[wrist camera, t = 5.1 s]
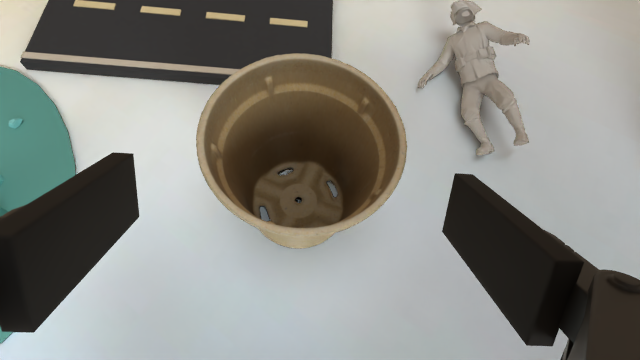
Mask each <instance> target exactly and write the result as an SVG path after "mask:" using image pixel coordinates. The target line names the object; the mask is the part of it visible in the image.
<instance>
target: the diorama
mask: <svg viewBox="0 0 640 360" xmlns="http://www.w3.org/2000/svg"><path fill="white" fill-rule="evenodd" d="M73 176H75V162H74V157H73V153H72V148H71V144H70V139H69V135H68V131H67V129H66V127H65V125H64V123H63V121H62V118H61V116H60V114H59V112H58V110H57V108H56V106H55V104H54V103H53V102H52V101H51V100H50V98H49V97H48V96H47V95H46V94H45V93H44V91H43V90H42V89H41V88H40V87H39V86H38V84H36V83H34V82H33V81H31V80H30V79H28V78H27V77H25V76H24V75H22V74H20V73H19V72H17V71H15V70H11V69H7V68H4V67H0V216H2V215H4V214H6V213H7V212H9V211H11V210H12V209H15V208H18V207H21V206H24V205H27V204H28V203H30V202H32V201H33V200H35V199H37V198H38V197H40V196H42V195H43V194H45V193H47V192H48V191H50V190H52V189H53V188H55V187H57V186H58V185H60V184H62V183H63V182H65V181H67V180H68V179H70V178H72V177H73ZM12 333H13V332H2V331H1V327H0V343H2V342H3V341H4V340H5V339H6V338H7V337H8V336H9V335H11V334H12Z"/></svg>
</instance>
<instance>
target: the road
mask: <svg viewBox="0 0 640 360" xmlns="http://www.w3.org/2000/svg"><path fill="white" fill-rule="evenodd" d="M332 4H333V0H49V1H48V3H47V5H46V7H45V9H44V12H43V14H42V16H41V18H40V20H39V22H38V24H37V27H36V29H35V31H34V33H33V35H32V37H31V39H30V42H29V44H28V46H27V48H26V50H25V52H23V53H22V55H21V58H22V59H21V61H20V62H21V63H22V64H23V66H24V67H25V68H26V69H29V70H42V71H55V72H67V73H80V74H93V75H105V76H118V77H131V78H144V79H156V80H169V81H182V82H194V83H207V84H220V85H221V84H222V83H223V82H224V81H225V80H226V79H228V78H229V76H231V75H233V74H234V73H235V72H237V71H238V70H240V69H242V68H244V67H246V66H248V65H249V64H252V63H254V62H256V61H260V60H261V59H264V58H267V57H272V56H275V55H284V54H293V53H295V54H296V53H299V54H303V53H305V54H314V55H320V56H324V57H328V58H331V53H332Z"/></svg>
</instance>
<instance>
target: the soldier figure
mask: <svg viewBox="0 0 640 360" xmlns="http://www.w3.org/2000/svg"><path fill="white" fill-rule="evenodd" d="M451 9H452V11H451V15H450V16H451V19H452V21H453V25H455V24H458V25H459V26H460V27H458V29H457V32H456V33H455V34H453V35H452V36H450V37H449V38H448V39H447V42H446V44H445V47H444V49H443V51H442V54H441V56H440V58H439V59H438V61H437V62H436V63H435V64H434V65H433V67H432V68H431V69H430V70H428V71H427V72H426V73H425V75H424V76H423V77H422V78H421V79H420V81H419V83H418V88H419V87H421V83H422V88H424V84H425V85H426V84H427V80H428V79H432V78H433V77H435V76H436V75H438V74H439V73H441V72H442V71H443V70H444V69H445V68H446V67H447V66H448V64H449V63H450V62H451V60H452V59H453V58H454V55H455V56H456V59H457V60H455V69H456V72H459V75H460V77H461V86H462V88H463V94H462V99H461V104H462V105H461V116H462V117H463V119H464V120H465V122H464V125H467V126H468V127H469V128H470V129H471V130H472V132H473V133H474V134H475V136H476V137H477V139H478V140H479V141H480V142H481V146H480V148H478V149H476V155H483V154H489V153H492V152H494V147H493V146H492V143H490V140H489V138H488V137H487V135H486V132H485V130H484V127H483V124H482V122H481V120H480V115H479V113H480V112H479V109H480V106H481V101H482V99H483V97H484V95H485V94H486V96H487V97H489V98H490V99H491V100H492V101H493V102H494V103H495V104H496V106H497V107H498V108H499V109H502V113H503V114H505V115H506V118H507V119H508V121H509V122H510V124H511V125H512V126H513V127H514V129H515V132H516V138H515V140H514V142H513V143H514V146H518V145H524V144H527V143H529V141H528V137H527V134H526V133H525V129H524V124H523V122H522V118H521V114H520V111H519V108H518V105H517V100H516V99H515V98H514V94H513V92H512V91H511V90H510V89H509V88H508V87H507V86H506V85H505V84H504V83H502V82H501V81H499V80H498V76H499V75H498V71H497V70H496V68H495V64H494V61H493V59H495V57H496V54H495V51H494V49H493V47H491V46H489V40H490V41H492V42H496V43H499V44H501V45H513V44H514V46H516V44H519V43H521V42H523V43H525V44H528V45H529V38H528V36H526V35H524V34H520V33H513V32H510V31H509V32H507V31H504V30H502V29H500V28H497V27H495V26H494V25H492V24H490V23H488V22H487V21H485V22H481V23H478V24H475V23H474V22H473V21H474V19H475V14H476V13H477V12H479V11H481V10H482V9H481V8H480V7H479V6H478V5H477V4H475V3H474V2H471V1H466V0H459V1H456V2H454V3H453V4H452V6H451ZM525 41H526V42H525Z"/></svg>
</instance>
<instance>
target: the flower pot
mask: <svg viewBox="0 0 640 360" xmlns="http://www.w3.org/2000/svg"><path fill="white" fill-rule="evenodd" d="M196 142H197V143H196V147H197V156H198V160H199V165H200V168H201V171H202V174H203V176H204V178H205V180H206V182H207V184H208V186H209V187H210V189H211V190H212V192H213V193H214V194H215V196H216V197H217V198H218V200H219V201H220V202H221V203H222V204H223V205H224V206H225V207H226V208H227V209H228V210H229V211H231V212H232V213H233V214H234V215H236V216H237V217H239V218H240V219H242V220H243V221H245V222H247V223H249V224H250V225H253V226H255V227H257V228H258V229H259V230H260V231H261V232H262V234H263V235H264V236H266V237H267V238H268V239H270V240H271V241H273V242H275V243H277V244H279V245H282V246H285V247H289V248H308V247H312V246H315V245H318V244H320V243H322V242H324V241H326V240H327V239H328V238H330V237H331V236H332V235H333V234H334V233H336V232H340V231H342V230H345V229H348V228H350V227H352V226H354V225H356V224H358V223H359V222H361V221H363V220H365V219H366V218H368V217H369V216H370V215H372V214H373V213H374V212H376V211H377V210H378V209H379V208H380V207H381V206H382V205H383V204H384V203H385V202H386V201H387V199H388V198H389V197H390V195H391V194H392V192H393V191H394V189H395V188H396V186H397V184H398V182H399V180H400V178H401V175H402V173H403V169H404V165H405V161H406V151H407V141H406V134H405V129H404V125H403V123H402V119H401V117H400V115H399V113H398V111H397V108H396V106H395V105H394V104H393V102H392V101H391V100H390V98H389V97H388V95H387V94H386V93H385V92H384V91H383V90H382V88H381V87H380V86H379V85H378V84H377V83H375V82H374V81H373V80H372V79H371V78H370V77H368V76H367V75H365V74H364V73H362V72H361V71H359V70H357V69H356V68H354V67H352V66H350V65H348V64H345V63H343V62H341V61H338V60H335V59H331V58H328V57H324V56H320V55H314V54H305V53H303V54H299V53H296V54H295V53H293V54H284V55H275V56H272V57H267V58H264V59H261V60H260V61H256V62H254V63H252V64H249V65H248V66H246V67H244V68H242V69H240V70H238V71H237V72H235V73H234V74H233V75H231V76H229V78H228V79H226V80H225V81H224V82H223V83H222V84H221V85H220V86H219V87H218V88H217V89H216V91H215V92H214V93H213V94H212V96H211V97H210V99H209V100H208V101H207V104H206V106H205V108H204V110H203V112H202V114H201V117H200V120H199V124H198V129H197V137H196ZM289 168H291V169H294V171H293V172H290V173H288V174H287V175H286V174H285V175H284V174H283V175H281V176H280V175H279V174H278V172H280V171H283V170H285V169H289ZM327 181H331V182H332V183H333V184H334V185H335V188H336V189H337V192H338V195H337V197H334V196H333V194H332V192H331V190H330V188H329V186H328V184H327ZM297 197H300V198H301V199H302V201H301V203H298V202H296V201H295V199H296V198H297ZM260 206H265V207H266V210H267V213H268V216H269V219H270V220H271V221H268V222H266V221H263V220H261V216H260V211H259V208H260Z"/></svg>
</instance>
